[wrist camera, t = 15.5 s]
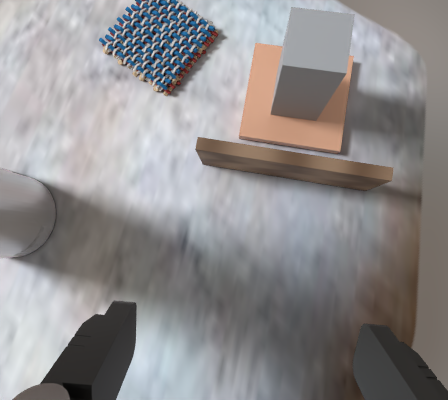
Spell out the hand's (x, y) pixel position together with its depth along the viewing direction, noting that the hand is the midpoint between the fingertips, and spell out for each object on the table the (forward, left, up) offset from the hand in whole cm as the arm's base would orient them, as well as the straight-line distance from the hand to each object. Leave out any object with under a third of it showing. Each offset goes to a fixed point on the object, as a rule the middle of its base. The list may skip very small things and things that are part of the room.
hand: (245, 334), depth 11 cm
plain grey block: (-8, +18, -22) cm, 30 cm away
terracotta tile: (-8, +18, -23) cm, 30 cm away
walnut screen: (-4, +11, -23) cm, 26 cm away
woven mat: (-25, +13, -24) cm, 37 cm away
